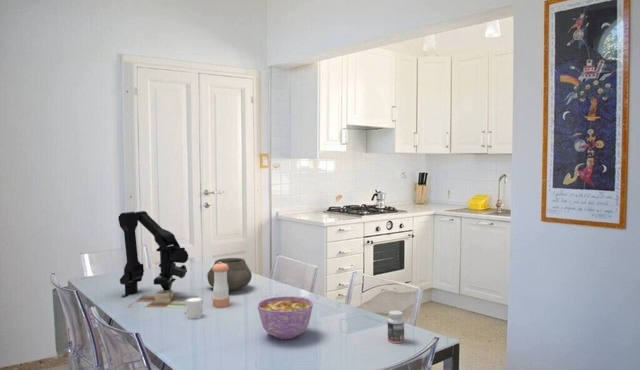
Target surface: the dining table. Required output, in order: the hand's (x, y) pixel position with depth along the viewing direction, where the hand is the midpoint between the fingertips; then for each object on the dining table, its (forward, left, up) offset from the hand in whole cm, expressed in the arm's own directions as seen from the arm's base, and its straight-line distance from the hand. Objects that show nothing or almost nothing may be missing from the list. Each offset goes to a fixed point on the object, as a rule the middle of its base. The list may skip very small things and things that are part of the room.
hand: (168, 295), depth 232 cm
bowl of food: (+44, +59, -3) cm, 74 cm away
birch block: (+5, 0, -1) cm, 5 cm away
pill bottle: (+49, +98, -3) cm, 110 cm away
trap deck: (+5, 0, -3) cm, 6 cm away
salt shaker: (+6, +26, -3) cm, 27 cm away
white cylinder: (+22, +19, -3) cm, 29 cm away
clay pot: (-20, +24, -3) cm, 31 cm away
